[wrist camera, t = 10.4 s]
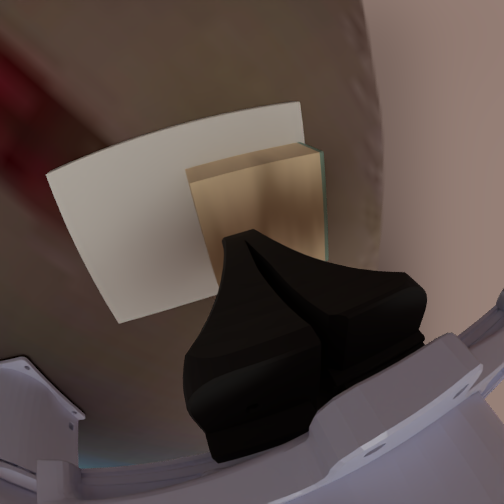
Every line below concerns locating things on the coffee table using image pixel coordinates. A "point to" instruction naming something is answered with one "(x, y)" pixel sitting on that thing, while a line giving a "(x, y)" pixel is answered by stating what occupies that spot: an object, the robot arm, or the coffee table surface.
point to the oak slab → (263, 199)
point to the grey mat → (157, 206)
